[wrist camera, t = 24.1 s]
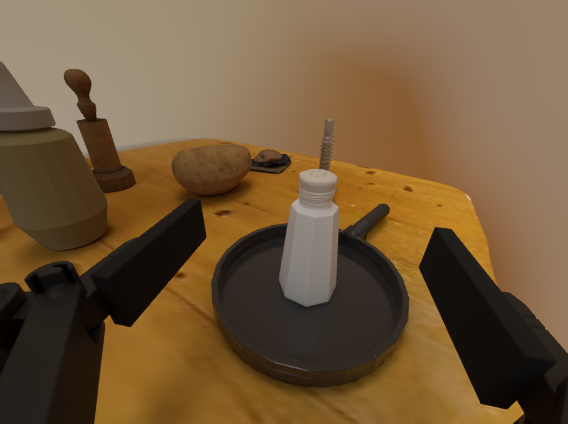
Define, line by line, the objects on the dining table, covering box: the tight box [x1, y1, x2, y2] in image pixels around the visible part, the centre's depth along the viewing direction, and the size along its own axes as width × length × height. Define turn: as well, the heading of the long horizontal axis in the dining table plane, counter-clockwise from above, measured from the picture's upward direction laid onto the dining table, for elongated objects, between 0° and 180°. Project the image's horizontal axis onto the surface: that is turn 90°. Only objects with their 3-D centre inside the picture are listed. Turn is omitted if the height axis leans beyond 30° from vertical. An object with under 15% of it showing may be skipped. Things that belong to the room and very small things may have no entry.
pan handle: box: [341, 204, 390, 247], centre depth 30 cm, size 11×2×2 cm, turn 138°
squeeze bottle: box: [0, 62, 107, 251], centre depth 24 cm, size 8×8×18 cm
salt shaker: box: [279, 169, 339, 307], centre depth 19 cm, size 5×5×11 cm
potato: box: [171, 144, 252, 195], centre depth 40 cm, size 10×14×8 cm
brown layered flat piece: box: [250, 149, 291, 173], centre depth 54 cm, size 11×8×4 cm
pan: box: [211, 223, 409, 387], centre depth 22 cm, size 17×17×2 cm
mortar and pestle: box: [64, 69, 135, 192], centre depth 38 cm, size 7×6×18 cm
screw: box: [318, 118, 337, 194], centre depth 36 cm, size 13×5×5 cm
